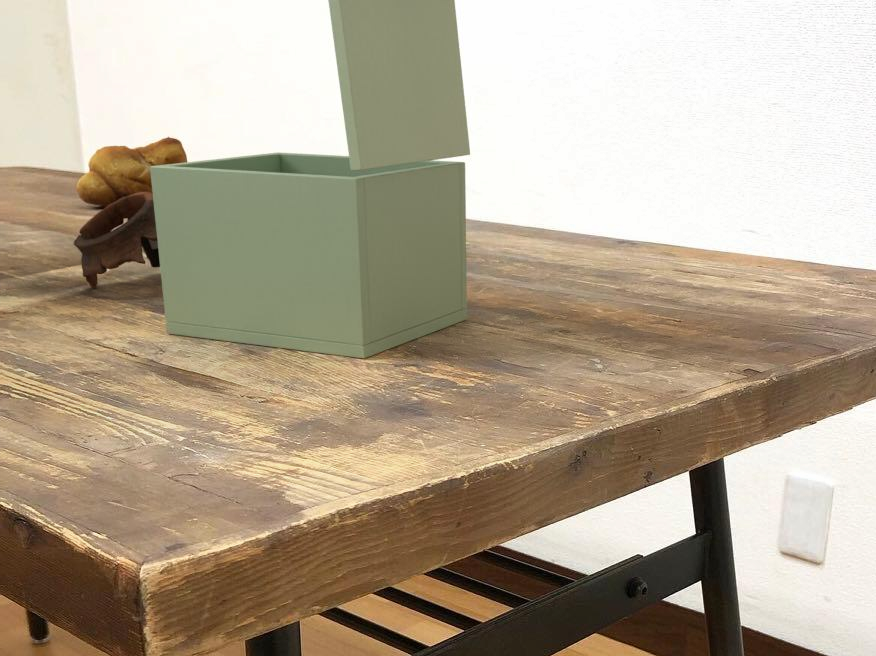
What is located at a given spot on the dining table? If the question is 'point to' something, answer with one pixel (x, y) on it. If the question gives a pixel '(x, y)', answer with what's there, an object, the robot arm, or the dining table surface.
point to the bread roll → (126, 170)
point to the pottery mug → (119, 236)
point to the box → (311, 251)
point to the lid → (399, 81)
